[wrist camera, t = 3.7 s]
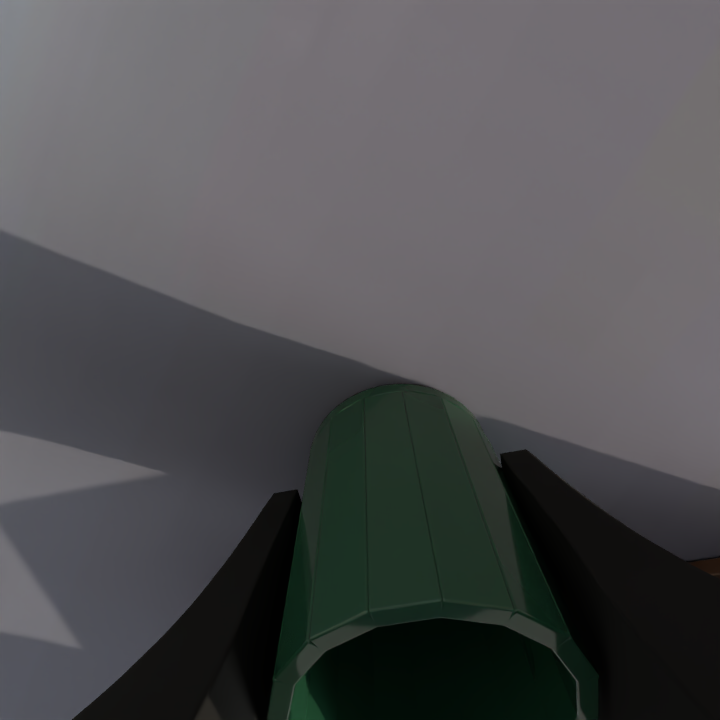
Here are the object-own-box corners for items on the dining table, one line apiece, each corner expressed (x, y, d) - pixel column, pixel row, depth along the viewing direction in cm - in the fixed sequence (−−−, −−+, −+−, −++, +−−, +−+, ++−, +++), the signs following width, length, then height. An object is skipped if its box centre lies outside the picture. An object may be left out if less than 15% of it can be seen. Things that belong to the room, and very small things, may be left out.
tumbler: (332, 542, 14) (313, 822, 8) (289, 402, 12) (223, 633, 6) (495, 515, 14) (601, 788, 8) (477, 366, 12) (599, 576, 6)
